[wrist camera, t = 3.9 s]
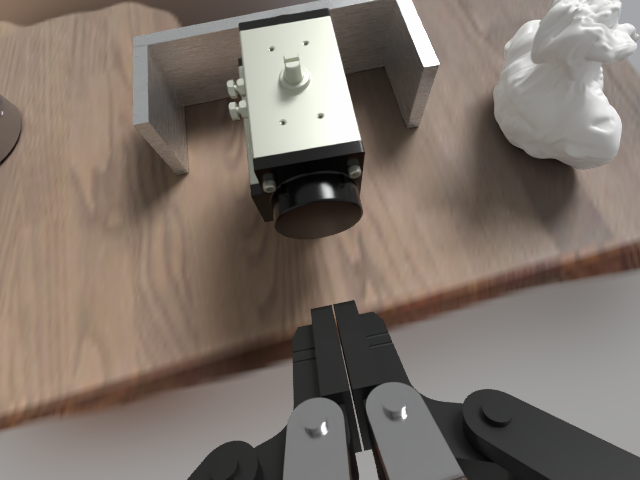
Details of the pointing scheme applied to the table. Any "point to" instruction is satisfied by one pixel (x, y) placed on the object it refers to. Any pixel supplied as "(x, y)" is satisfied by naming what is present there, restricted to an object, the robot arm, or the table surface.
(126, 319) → the table surface
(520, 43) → the bust
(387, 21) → the cradle
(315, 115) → the pneumatic valve
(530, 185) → the table surface
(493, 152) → the table surface
